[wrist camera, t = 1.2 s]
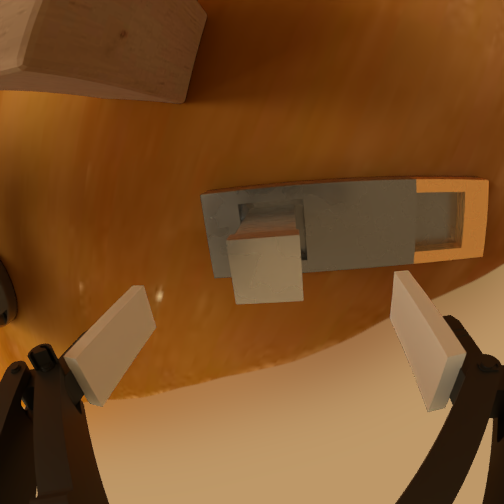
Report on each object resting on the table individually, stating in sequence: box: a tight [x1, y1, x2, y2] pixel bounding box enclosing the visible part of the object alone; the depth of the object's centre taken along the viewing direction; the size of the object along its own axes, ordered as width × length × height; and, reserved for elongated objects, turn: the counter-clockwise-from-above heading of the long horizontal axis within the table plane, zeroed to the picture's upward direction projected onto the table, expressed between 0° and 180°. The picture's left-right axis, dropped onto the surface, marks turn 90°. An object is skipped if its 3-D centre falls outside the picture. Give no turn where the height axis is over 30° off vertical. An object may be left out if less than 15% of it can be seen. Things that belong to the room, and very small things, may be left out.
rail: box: [200, 176, 489, 278], centre depth 26 cm, size 28×8×2 cm, turn 97°
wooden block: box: [0, 0, 207, 104], centre depth 14 cm, size 10×10×20 cm
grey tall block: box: [226, 205, 304, 304], centre depth 23 cm, size 4×4×10 cm
